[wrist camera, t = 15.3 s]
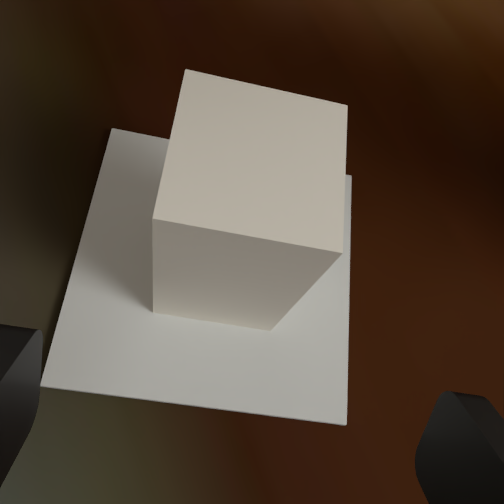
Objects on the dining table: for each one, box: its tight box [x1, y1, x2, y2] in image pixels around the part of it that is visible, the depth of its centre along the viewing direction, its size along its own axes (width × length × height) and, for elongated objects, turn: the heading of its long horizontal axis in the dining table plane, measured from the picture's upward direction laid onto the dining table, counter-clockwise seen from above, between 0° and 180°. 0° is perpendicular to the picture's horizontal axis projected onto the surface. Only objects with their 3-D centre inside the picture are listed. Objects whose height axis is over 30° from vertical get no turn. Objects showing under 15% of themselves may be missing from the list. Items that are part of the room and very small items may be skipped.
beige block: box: [152, 69, 348, 331], centre depth 20 cm, size 6×6×10 cm
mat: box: [40, 128, 351, 425], centre depth 25 cm, size 14×14×1 cm
